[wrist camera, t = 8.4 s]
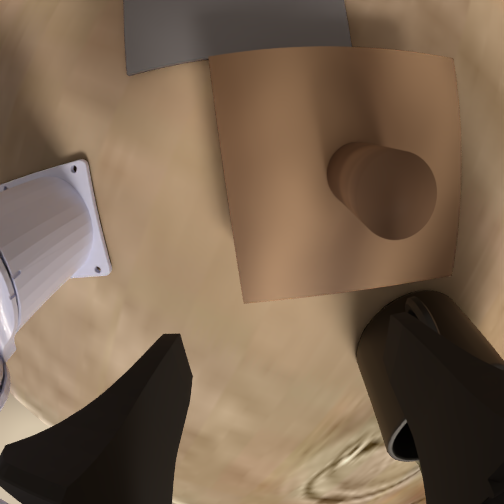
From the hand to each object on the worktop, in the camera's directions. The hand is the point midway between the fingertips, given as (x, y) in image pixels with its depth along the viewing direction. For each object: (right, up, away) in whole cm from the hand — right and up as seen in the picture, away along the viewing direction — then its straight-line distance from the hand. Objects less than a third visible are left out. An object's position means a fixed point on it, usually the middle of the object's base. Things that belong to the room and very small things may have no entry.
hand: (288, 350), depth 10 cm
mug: (+11, -3, +12) cm, 16 cm away
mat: (-3, +20, +2) cm, 21 cm away
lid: (+4, +7, +4) cm, 9 cm away
